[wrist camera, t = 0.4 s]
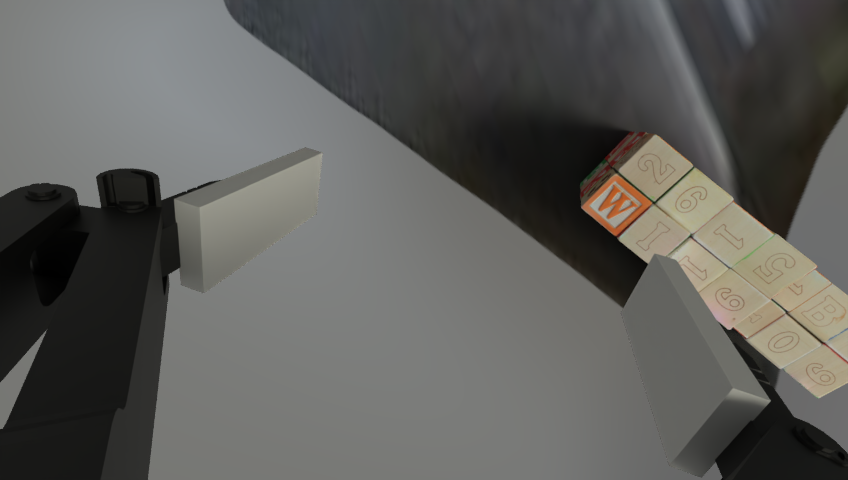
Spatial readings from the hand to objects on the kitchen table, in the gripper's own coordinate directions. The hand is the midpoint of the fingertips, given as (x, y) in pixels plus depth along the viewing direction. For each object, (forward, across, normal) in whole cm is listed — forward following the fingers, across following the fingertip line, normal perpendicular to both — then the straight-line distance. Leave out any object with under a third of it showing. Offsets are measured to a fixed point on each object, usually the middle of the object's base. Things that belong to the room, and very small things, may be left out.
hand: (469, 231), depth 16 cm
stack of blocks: (+24, +19, -4) cm, 30 cm away
